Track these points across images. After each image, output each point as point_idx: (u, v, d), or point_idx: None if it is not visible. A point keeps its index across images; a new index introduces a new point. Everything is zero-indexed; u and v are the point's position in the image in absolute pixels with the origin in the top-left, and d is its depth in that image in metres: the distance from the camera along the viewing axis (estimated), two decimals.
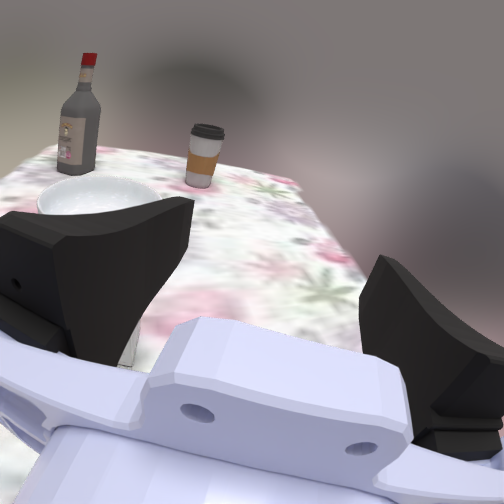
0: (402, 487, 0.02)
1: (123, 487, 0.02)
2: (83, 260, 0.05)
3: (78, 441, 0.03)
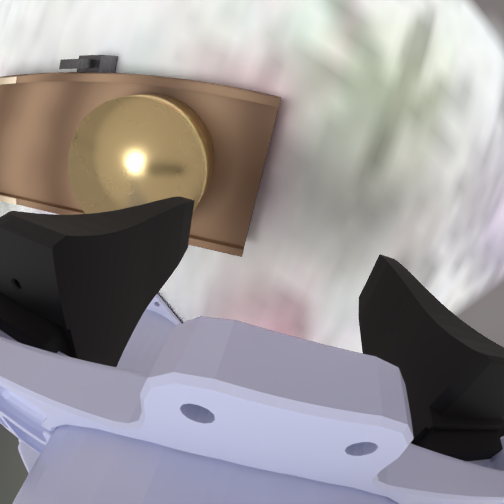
0: (402, 487, 0.02)
1: (123, 487, 0.02)
2: (83, 260, 0.05)
3: (76, 442, 0.02)
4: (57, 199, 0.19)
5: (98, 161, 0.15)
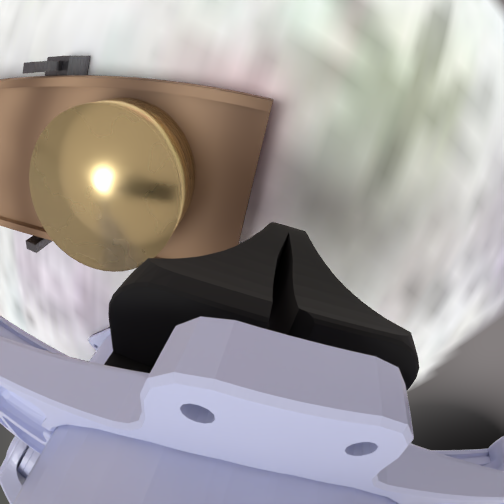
0: (402, 487, 0.02)
1: (123, 487, 0.02)
2: None
3: (77, 441, 0.03)
4: (27, 218, 0.17)
5: (60, 181, 0.12)
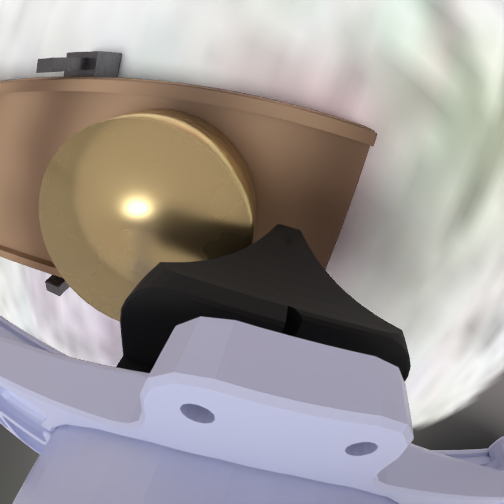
0: (402, 487, 0.02)
1: (123, 487, 0.02)
2: None
3: (77, 441, 0.03)
4: (46, 253, 0.14)
5: (83, 220, 0.10)
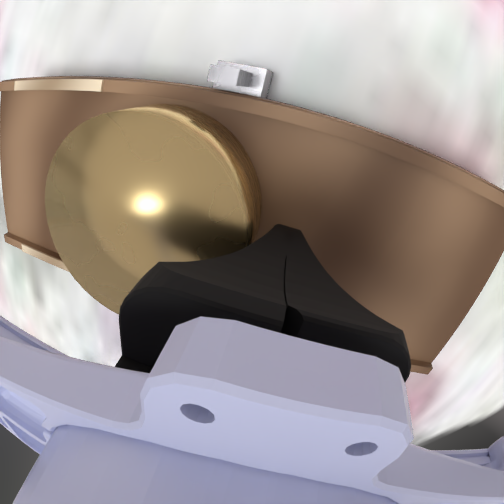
0: (402, 487, 0.02)
1: (123, 487, 0.02)
2: None
3: (77, 441, 0.03)
4: None
5: (84, 207, 0.10)
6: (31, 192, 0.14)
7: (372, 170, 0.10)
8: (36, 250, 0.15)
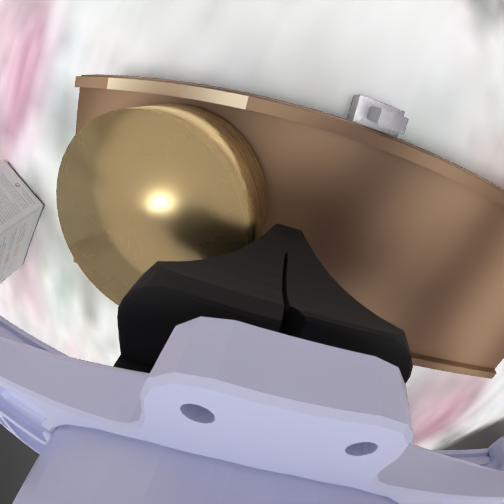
0: (402, 487, 0.02)
1: (123, 487, 0.02)
2: None
3: (77, 441, 0.03)
4: None
5: (93, 201, 0.10)
6: None
7: (486, 215, 0.11)
8: None
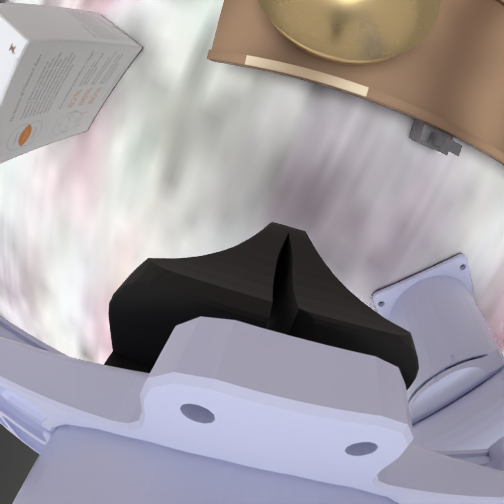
0: (402, 487, 0.02)
1: (123, 487, 0.02)
2: None
3: (77, 441, 0.03)
4: (442, 110, 0.13)
5: None
6: None
7: None
8: (274, 61, 0.13)
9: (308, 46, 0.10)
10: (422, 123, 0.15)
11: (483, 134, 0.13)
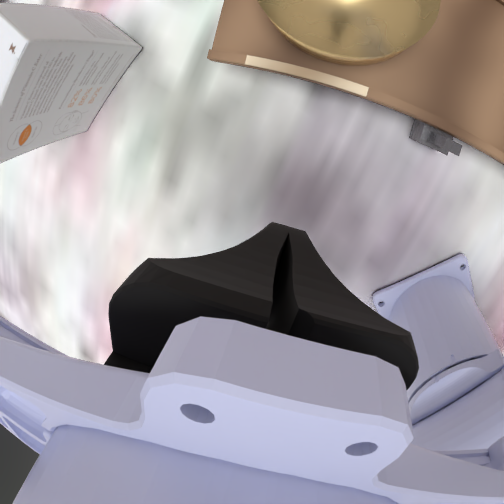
0: (402, 487, 0.02)
1: (123, 487, 0.02)
2: None
3: (77, 441, 0.03)
4: (442, 110, 0.13)
5: None
6: None
7: None
8: (274, 61, 0.13)
9: (318, 48, 0.10)
10: (422, 123, 0.15)
11: (483, 134, 0.13)
